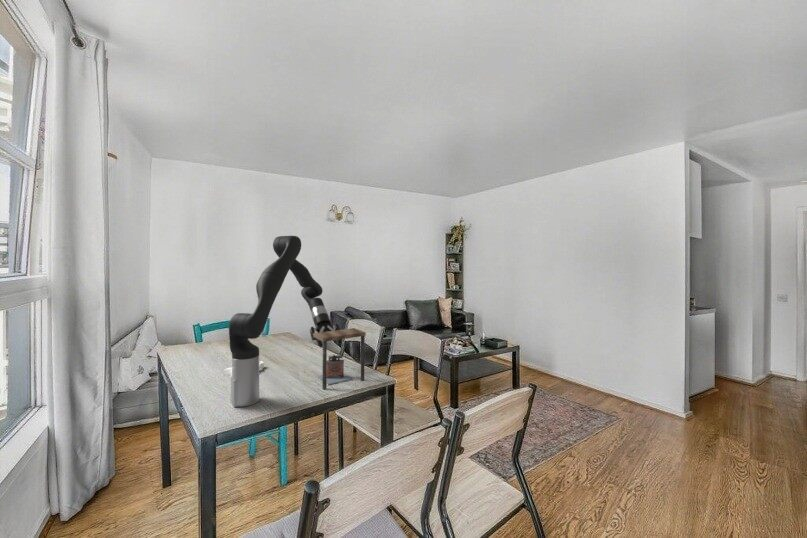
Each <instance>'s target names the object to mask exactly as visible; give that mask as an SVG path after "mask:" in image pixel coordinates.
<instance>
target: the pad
mask: <svg viewBox="0 0 807 538" xmlns="http://www.w3.org/2000/svg"><path fill="white" fill-rule="evenodd" d="M317 378H318V379H319V378H320V379H321V380H320V379H319V380H320V381H322V382H323V374H322V375H321V374H320V375H317ZM348 380H349V381H352V380H354V378H353V377H351V376H350V375H348V374H347V373H345V372H344V377H342V378H333V379H327V381H326V385H327V384H328V385H327V386H330V384H331V385H334V383H336V384H339V382H340V383H344V382H348ZM343 381H344V382H343Z"/></svg>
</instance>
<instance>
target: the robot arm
mask: <svg viewBox="0 0 807 538" xmlns="http://www.w3.org/2000/svg"><path fill="white" fill-rule="evenodd" d="M272 249H273V251H274V253H275V255H277V257H278V259H276V260H275V261H273V262H272V263H271V264H269V265H268V266H267V267H266V268H264V270H263V271H262V272H261V274H260V276H259V277H258V279H257V282H256V284H255V285H256V286H255V288H256V295H257V298H258V300H257V301H258V302H257V305H256V307H255V309H254V311H253V312H252V313H250V312H249V313H248V312H247V313H244V312H239V313H235V314H233V315H232V317H231V319H230V320H229V325H228V338H229V340H228V341H229V350H230V352H231V365H232V366H231V367H232V377H231V378H230V402H231V404H232V406H233V408H237V407H241V408H242V407H247V406H248V407H249V406H251V405H255V404H257V403H258V402H260V372H259V361H260V348H259V346H257V345H256V344H253V342H251V341H250V339H251V340H252V339H253V340H255V339H258V338H259V337H260V336H261V335H262V333H263V332H264V329H265V327H266V325H267V321H268V319H269V315H270V313H271V310H272V308H273V305H274V303H275V300H276V298H277V296H278V294H279V292H280V290H281V289H282V286H283V284H284V282H285V279H286V277H287V275H288V273H289V271H290V272H291V273H292V274H293V275H294V278H295V279H296V281H297V282H298V284H299V285H300V287H301V288H302V289H301V290H300V294H301V297H302V298H303V299H304V301H305V302H306V303H307V305H308V306H309V307H308V308H309V310H310V314H311V318H312V321H313V324H314V326H311V327H310V328H309V333H310V337H311V340H312V341H316V343H317V346H318V347H319V348H323V342H322V341H320V340H318V339H316V338H314V337H313V333H320V332H328V331H336V330H341V327H340V326H339V324H338V323H336V324H334V325H332V323H331V319H330V315H329V314H328V311H327V309H326V307H325V304H324V300H322V298H320V296H322V294H323V287H322V286H321V284H319V283H318V282H317V281H316V280H315V279H314V278H313V277H312V274H311V273H310V271H309V269H308V268H307V267H306V266H305V265H304V264H302V263H301V262H300V261H299V260H297V258H298V256H299V254H300V253H301V249H302V240H301V238H300V237H299V236H297V235H280V236H276V237H275V238H274V239H273V242H272ZM335 343H336V345H337V346H338V345H340V343H341V339H339V340H335Z"/></svg>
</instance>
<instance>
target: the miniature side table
mask: <svg viewBox="0 0 807 538" xmlns="http://www.w3.org/2000/svg"><path fill="white" fill-rule="evenodd" d="M366 333H367V332H366V331H362V330H360V329H357V328H354V327H353V328H346V329H345V328H343V329H340V330H336V331H328V332H320V333H318V332H315V333H313V337H314V338H316V339H318V340H320V341H322V344H323V346H322V375H323V381H322V390H323V389H326V390H327V384H326V381H327V355H328V354H327V350H328V349H327V347H328V346H327V344H328V343H327V342H331V341H336V340H339V339H340V340H346V339H353V338H358V337H360V382H364V381H365V351H366V350H365V345H366V344H365V341H366V340H365V337H366V335H367V334H366Z"/></svg>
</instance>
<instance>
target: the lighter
mask: <svg viewBox="0 0 807 538" xmlns="http://www.w3.org/2000/svg"><path fill="white" fill-rule="evenodd" d="M344 362H345V359H343V355H342V354H337V355H336V354H332V355H329V356H328V360H327V379H333V378H342V377H344V373H345V372H344V368H345V367H344V365H345V364H344Z"/></svg>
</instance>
